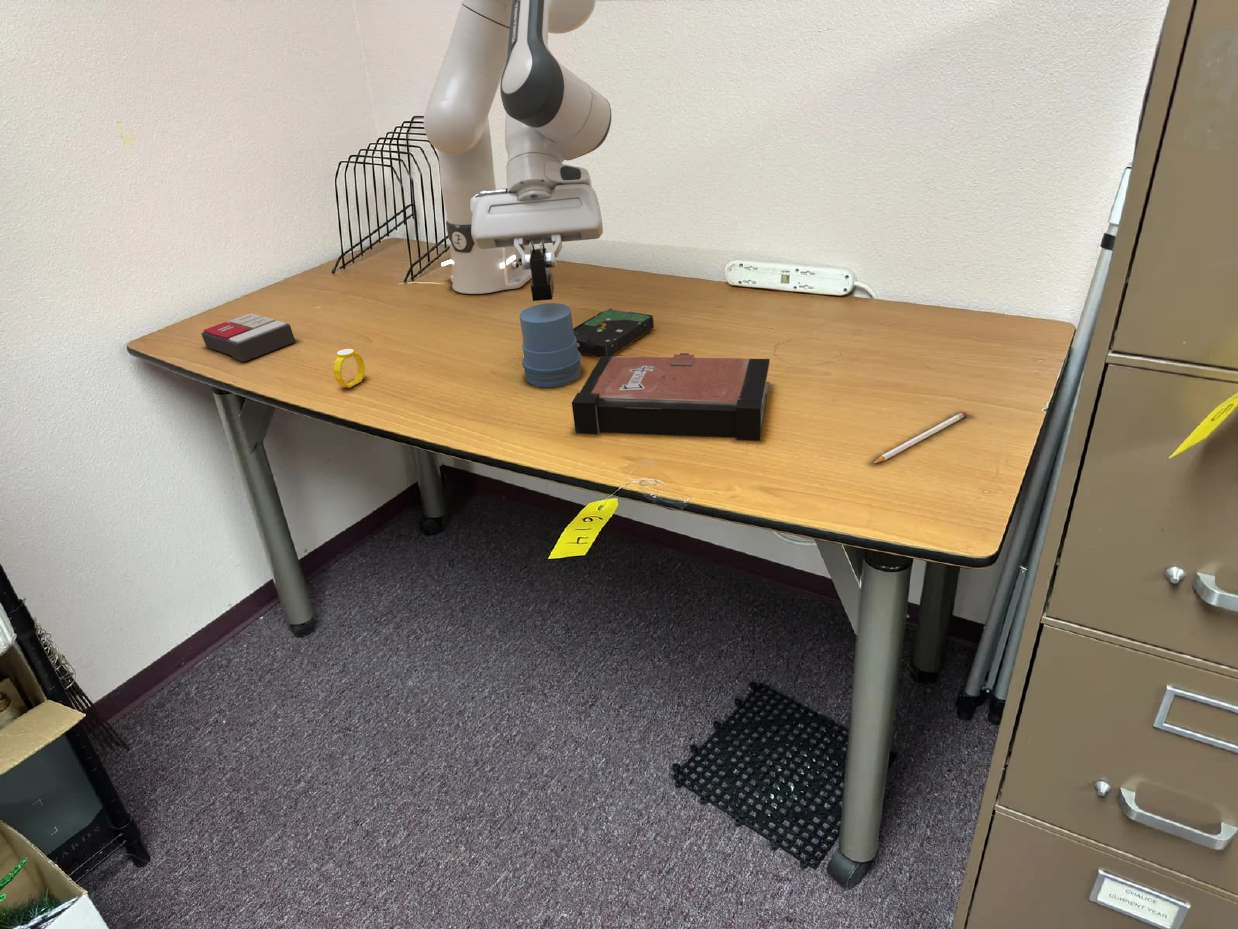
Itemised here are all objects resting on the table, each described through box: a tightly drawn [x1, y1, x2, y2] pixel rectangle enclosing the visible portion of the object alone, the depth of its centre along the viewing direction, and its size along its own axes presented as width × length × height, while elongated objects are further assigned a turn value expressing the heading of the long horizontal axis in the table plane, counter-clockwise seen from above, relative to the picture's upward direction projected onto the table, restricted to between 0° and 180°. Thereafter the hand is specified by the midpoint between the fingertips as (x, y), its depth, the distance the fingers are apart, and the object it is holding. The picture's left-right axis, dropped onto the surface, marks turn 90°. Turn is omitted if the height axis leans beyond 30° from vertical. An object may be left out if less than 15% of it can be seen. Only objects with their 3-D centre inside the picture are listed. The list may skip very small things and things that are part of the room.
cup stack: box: [518, 302, 582, 388], centre depth 132 cm, size 10×10×11 cm
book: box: [571, 352, 771, 442], centre depth 120 cm, size 26×18×5 cm
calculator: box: [201, 312, 296, 363], centre depth 158 cm, size 11×4×15 cm
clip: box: [529, 237, 555, 302], centre depth 125 cm, size 5×3×8 cm, turn 1°
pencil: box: [873, 411, 967, 464], centre depth 108 cm, size 1×19×1 cm, turn 126°
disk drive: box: [573, 308, 654, 358], centre depth 145 cm, size 10×3×15 cm
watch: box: [333, 348, 366, 389], centre depth 137 cm, size 6×3×6 cm, turn 156°
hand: (539, 266), depth 125 cm, fingers closed on clip, 2 cm apart
